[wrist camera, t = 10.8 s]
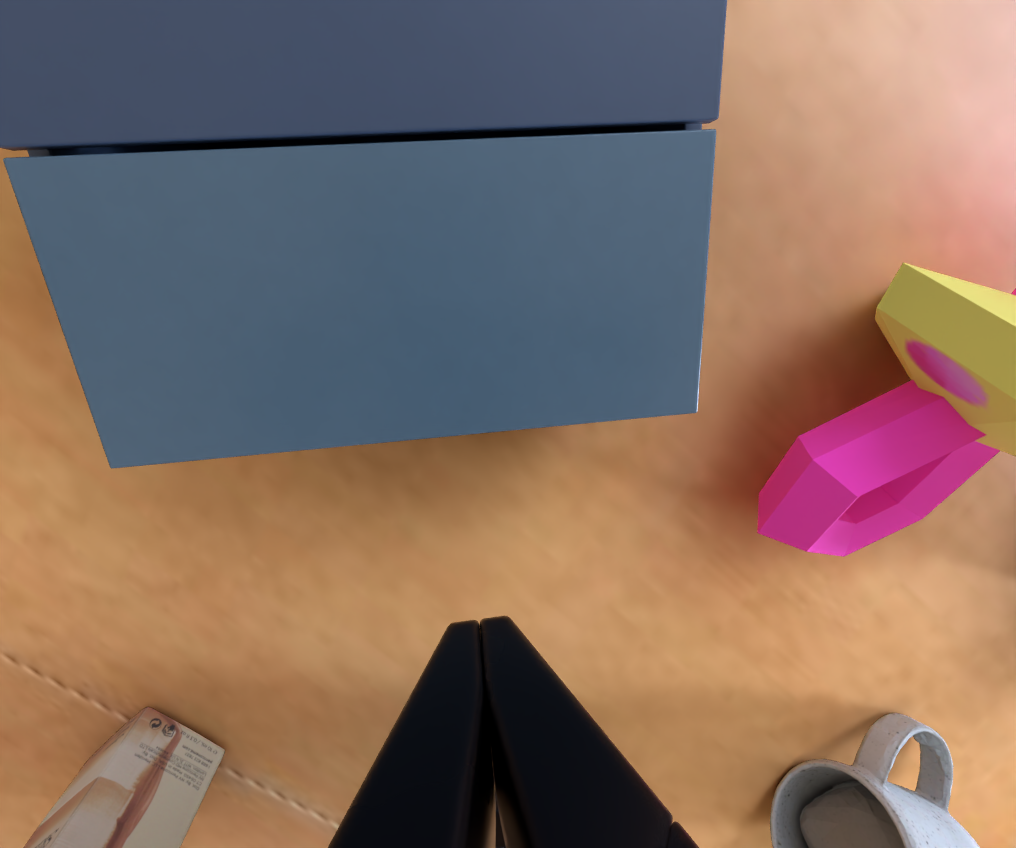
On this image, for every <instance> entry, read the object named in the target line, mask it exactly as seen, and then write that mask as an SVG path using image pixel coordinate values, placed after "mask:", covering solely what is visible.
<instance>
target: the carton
mask: <svg viewBox="0 0 1016 848" xmlns="http://www.w3.org/2000/svg"><path fill="white" fill-rule="evenodd" d="M726 6H727V0H0V148H4V149H8V150H12V151H16V150H27V151H28V154H29V156H30V157H40V156H65V155H90V154H114V153H139V152H164V151H188V150H213V149H238V148H262V147H287V146H312V145H336V144H361V143H385V142H410V141H435V140H459V139H484V138H509V137H533V136H558V135H583V134H607V133H632V132H657V131H681V130H702V123H710V122H712V121H714V120H716V119H718V117H719V104H720V90H721V76H722V62H723V48H724V34H725V20H726Z"/></svg>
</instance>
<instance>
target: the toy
mask: <svg viewBox="0 0 1016 848" xmlns="http://www.w3.org/2000/svg"><path fill="white" fill-rule="evenodd" d="M875 321H876V323H877V324H878V326H879V328H880V329H881V331H882V333H883V334H884V336H885V338H886V339H887V341H888V343H889V344H890V346H891V348H892V349H893V351H894V353H895V354H896V356H897V358H898V359H899V361H900V363H901V364H902V366H903V368H904V369H905V371H906V373H907V374H908V376H909V378H910V379H911V381H909V382H907V383H905V384H903V385H901V386H899V387H897V388H895V389H893V390H891V391H889V392H887V393H885V394H883V395H880V396H878V397H876V398H874V399H872V400H870V401H868V402H866V403H864V404H862V405H860V406H858V407H856V408H854V409H852V410H850V411H848V412H846V413H844V414H842V415H840V416H838V417H836V418H834V419H832V420H830V421H828V422H826V423H824V424H822V425H820V426H818V427H816V428H814V429H812V430H810V431H808V432H806V433H804V434H802V435H800V436H798V437H797V439H796V440H795V442H794V443H793V444H792V446H791V447H790V449H789V450H788V452H787V453H786V455H785V456H784V458H783V459H782V460H781V462H780V463H779V465H778V466H777V468H776V469H775V471H774V472H773V474H772V475H771V476H770V478H769V479H768V481H767V482H766V484H765V485H764V487H763V488H762V490H761V491H760V493H759V505H758V531H757V533H759V534H762V535H764V536H767V537H769V538H772V539H775V540H777V541H780V542H783V543H785V544H788V545H791V546H793V547H796V548H799V549H801V550H804V551H807V552H814V553H822V554H829V555H837V556H846V555H848V554H850V553H852V552H854V551H856V550H858V549H860V548H863V547H865V546H867V545H869V544H871V543H873V542H875V541H877V540H879V539H881V538H883V537H886V536H888V535H890V534H892V533H894V532H896V531H898V530H900V529H902V528H904V527H906V526H908V525H911V524H913V523H915V522H917V521H919V520H921V519H923V518H924V517H925V516H926V515H927V514H929V513H930V512H931V511H932V510H933V509H934V508H935V507H937V506H938V505H939V504H940V503H941V502H942V501H943V500H945V499H946V498H947V497H948V496H949V495H950V494H951V493H953V492H954V491H955V490H956V489H957V488H958V487H959V486H961V485H962V484H963V483H964V482H965V481H966V480H967V479H969V478H970V477H971V476H972V475H973V474H974V473H975V472H976V471H978V470H979V469H980V468H981V467H982V466H983V465H984V464H986V463H987V462H988V461H989V460H990V459H991V458H992V457H994V456H995V455H996V454H997V453H998V452H999V451H1003V452H1005V453H1008V454H1011V455H1013V456H1016V289H1015V290H1014V291H1013V292H1012V293H1011V294H1009V293H1006V292H1002V291H999V290H995V289H992V288H988V287H985V286H982V285H978V284H975V283H971V282H968V281H964V280H961V279H958V278H954V277H951V276H947V275H944V274H941V273H937V272H934V271H930V270H927V269H923V268H920V267H917V266H913V265H910V264H906V263H903V264H902V265H901V267H900V269H899V270H898V272H897V274H896V275H895V277H894V279H893V280H892V282H891V284H890V286H889V287H888V289H887V291H886V292H885V294H884V296H883V297H882V299H881V301H880V303H879V304H878V306H877V309H876V314H875Z"/></svg>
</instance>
